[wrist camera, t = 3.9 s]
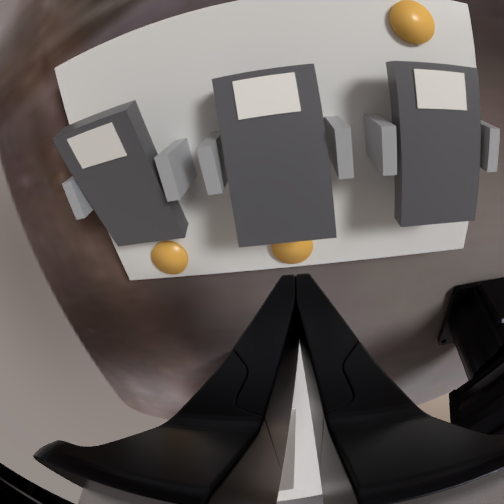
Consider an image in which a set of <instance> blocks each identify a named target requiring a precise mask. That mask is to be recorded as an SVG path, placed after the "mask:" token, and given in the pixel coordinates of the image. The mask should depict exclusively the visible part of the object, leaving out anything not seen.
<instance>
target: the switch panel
mask: <svg viewBox="0 0 504 504" xmlns="http://www.w3.org/2000/svg"><path fill="white" fill-rule="evenodd" d="M389 61H412V62H427V63H439V64H449V65H457V66H465V67H472V68H476V60H475V50H474V42H473V34H472V27H471V21H470V15H469V10H468V4H465V3H460V2H456V1H451V0H239V1H233V2H229V3H224V4H219V5H215V6H211V7H207V8H203V9H199V10H195V11H191V12H188V13H184V14H181V15H177V16H174V17H171V18H168V19H165V20H162V21H159V22H156V23H153V24H150V25H147V26H144V27H142V28H139V29H136V30H134V31H131V32H129V33H126V34H124V35H121V36H119V37H116V38H114V39H112V40H109V41H107V42H105V43H103V44H101V45H98V46H96V47H94V48H92V49H90V50H88V51H86V52H84V53H82V54H80V55H78V56H76V57H74V58H72V59H70V60H68V61H67V62H65V63H63V64H61V65H59V66H57V67H56V68H55V72H56V76H57V81H58V85H59V89H60V93H61V97H62V100H63V104H64V108H65V111H66V115H67V118H68V122H69V125H70V124H73V123H75V122H77V121H80V120H82V119H85V118H87V117H90V116H92V115H95V114H97V113H100V112H102V111H105V110H108V109H110V108H113V107H116V106H119V105H122V104H124V103H127V102H130V101H133V100H136V103H137V105H138V108H139V110H140V113H141V115H142V118H143V120H144V122H145V125H146V127H147V130H148V132H149V135H150V137H151V139H152V142H153V144H154V146H155V149H156V151H157V153H158V155H157V156H155V157H154V159H155V163H156V166H157V169H158V173H159V176H160V179H161V182H162V186H163V189H164V192H165V195H166V198H167V202H170V201H176V200H178V201H179V204H180V206H181V208H182V210H183V212H184V215H185V217H186V219H187V221H188V223H189V224H188V228H187V232H186V236H185V238H180V239H172V240H164V241H156V242H148V243H141V244H133V245H126V246H118V245H117V244H116V242H115V241H114V239H113V238H112V237H111V235H110V234H109V235H110V237H111V240H112V242H113V244H114V246H115V249H116V251H117V253H118V255H119V257H120V260H121V262H122V264H123V266H124V268H125V270H126V273H127V275H128V277H129V279H130V280H141V279H154V278H167V277H180V276H192V275H205V274H217V273H228V272H240V271H251V270H262V269H273V268H284V267H294V266H305V265H315V264H325V263H335V262H345V261H354V260H364V259H373V258H383V257H392V256H401V255H410V254H418V253H427V252H436V251H444V250H453V249H461V248H463V247H464V242H465V237H466V232H467V227H468V221H464V222H453V223H442V224H431V225H420V226H409V227H400V225H399V224H398V222H397V221H396V219H395V218H394V210H395V175H397V136H396V126H395V125H394V124H392V114H391V103H390V93H389V84H388V76H387V68H386V62H389ZM303 64H314V67H315V72H316V77H317V83H318V89H319V94H320V100H321V107H322V113H323V119H324V126H325V133H326V140H327V148H328V156H329V164H330V172H331V181H332V191H333V201H334V212H335V223H336V236H337V238H329V239H319V240H309V241H299V242H289V243H279V244H269V245H260V246H250V247H240V248H239V244H238V239H237V233H236V227H235V221H234V215H233V209H232V203H231V197H230V191H229V185H228V179H227V173H226V166H225V160H224V154H223V148H222V142H221V135H220V129H219V123H218V116H217V110H216V104H215V97H214V91H213V84H212V79H214V78H219V77H223V76H228V75H234V74H239V73H244V72H250V71H256V70H263V69H270V68H277V67H285V66H293V65H303ZM499 139H500V129H499V128H497V127H495V126H493V125H491V124H488V123H486V122H484V121H482V120H481V150H480V167H481V168H482V169H484V170H485V171H486V172H497V164H498V153H499ZM62 185H63V188H64V190H65V193H66V195H67V198H68V200H69V203H70V205H71V208H72V210H73V213H74V215H75V217H76V220H78V219H82V218H86V217H87V216H88V215H89V214H90V213H91V212H92V211H93V210H94V209H93V208H92V206H91V204H90V203H89V201H88V200H87V198H86V196H85V195H84V193H83V192H82V190H81V188H80V187H79V185H78V183H77V182H76V180H75V178H74V177H73V176H72V177H70V178H69V179H68V180H66V181H65V182H63V183H62ZM108 233H109V232H108Z"/></svg>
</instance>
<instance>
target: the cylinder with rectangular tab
mask: <svg viewBox="0 0 504 504" xmlns="http://www.w3.org/2000/svg"><path fill="white" fill-rule="evenodd" d="M227 356H228V355H227ZM319 494H322V487H321V480H320V470H319V465H318V458H317V451H316V444H315V437H314V430H313V423H312V417H311V410H310V404H309V397H308V391H307V385H306V379H305V373H304V367H303V361H302V355H301V348H300V344H299V353H298V362H297V371H296V379H295V387H294V395H293V403H292V410H291V417H290V424H289V431H288V438H287V445H286V451H285V457H284V463H283V469H282V476H281V481H280V487H279V493H278V498H277V501H284V500H290V499H297V498H303V497H309V496H315V495H319Z"/></svg>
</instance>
